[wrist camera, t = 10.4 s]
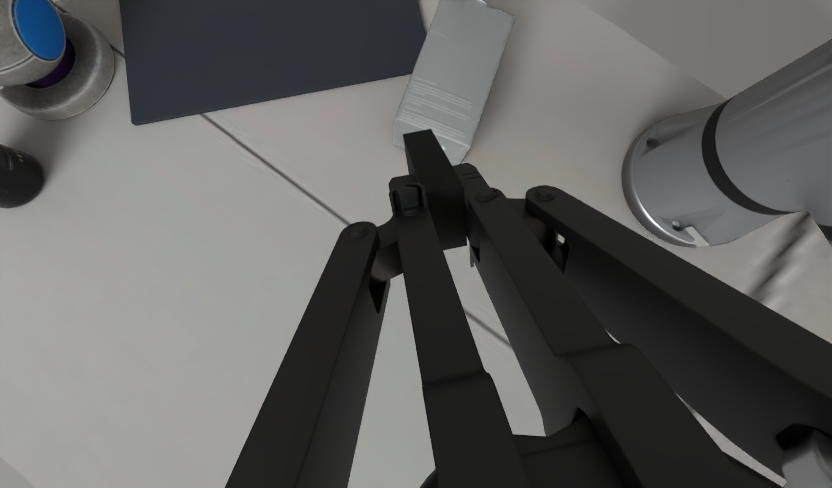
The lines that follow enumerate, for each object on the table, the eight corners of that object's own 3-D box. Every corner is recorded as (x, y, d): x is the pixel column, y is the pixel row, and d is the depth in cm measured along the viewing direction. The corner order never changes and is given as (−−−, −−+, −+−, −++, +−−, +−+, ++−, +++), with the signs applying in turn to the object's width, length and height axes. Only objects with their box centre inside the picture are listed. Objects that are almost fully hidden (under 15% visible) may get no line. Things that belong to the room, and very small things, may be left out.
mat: (396, -82, 42) (396, -87, 42) (432, 69, 40) (432, 66, 39) (119, -34, 41) (115, -39, 41) (135, 125, 38) (131, 123, 38)
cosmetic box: (455, 172, 38) (497, 62, 41) (472, 145, 31) (521, 14, 34) (388, 145, 38) (435, 35, 40) (389, 111, 30) (446, -19, 33)
